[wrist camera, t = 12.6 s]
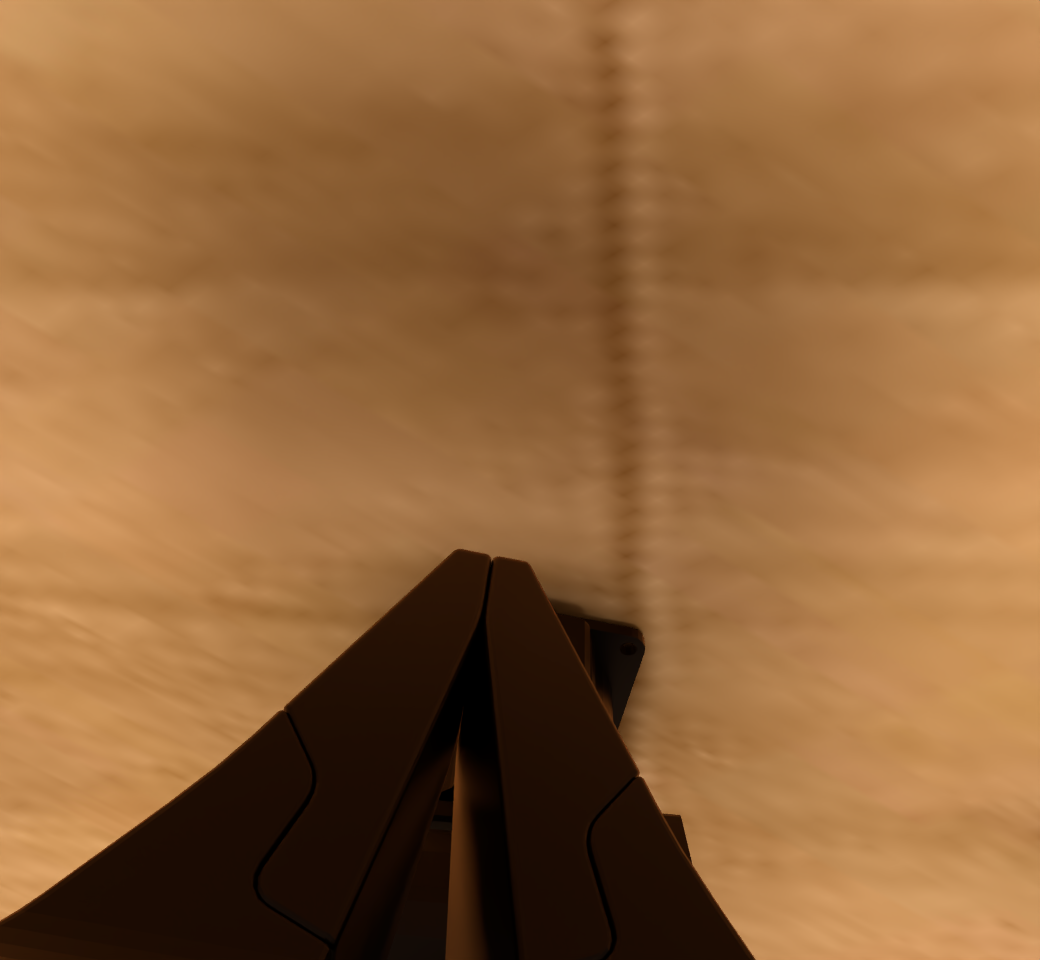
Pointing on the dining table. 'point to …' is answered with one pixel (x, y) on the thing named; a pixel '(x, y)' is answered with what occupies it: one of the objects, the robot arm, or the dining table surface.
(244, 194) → the dining table surface
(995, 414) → the dining table surface
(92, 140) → the dining table surface
